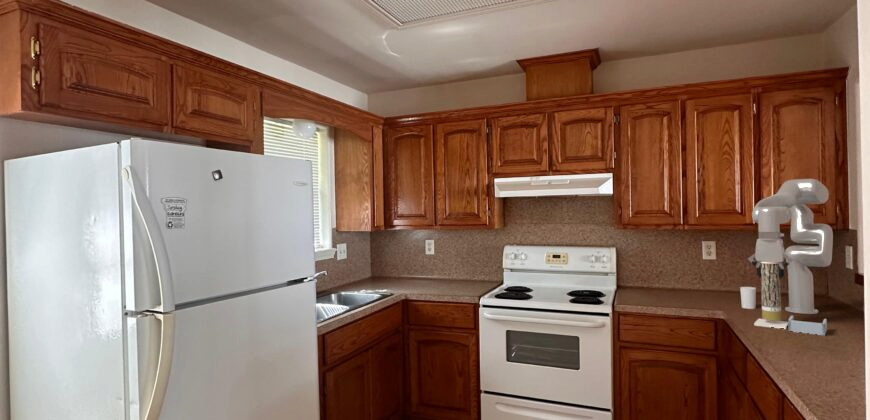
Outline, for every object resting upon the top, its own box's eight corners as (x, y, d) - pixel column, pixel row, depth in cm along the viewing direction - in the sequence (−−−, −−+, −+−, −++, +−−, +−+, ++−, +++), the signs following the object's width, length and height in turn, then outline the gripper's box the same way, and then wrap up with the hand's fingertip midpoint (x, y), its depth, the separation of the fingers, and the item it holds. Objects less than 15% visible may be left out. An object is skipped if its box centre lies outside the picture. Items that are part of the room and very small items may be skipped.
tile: (758, 320, 213) (758, 318, 213) (789, 324, 206) (789, 321, 206) (754, 325, 205) (754, 323, 205) (785, 329, 198) (785, 326, 198)
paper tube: (758, 318, 208) (756, 261, 208) (769, 317, 210) (767, 260, 210) (774, 322, 201) (772, 262, 201) (785, 320, 204) (783, 261, 204)
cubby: (791, 326, 203) (791, 315, 203) (826, 330, 195) (826, 319, 195) (788, 331, 195) (788, 320, 195) (825, 335, 187) (824, 324, 187)
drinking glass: (758, 309, 237) (758, 288, 237) (744, 308, 238) (743, 288, 238) (752, 306, 244) (752, 286, 244) (738, 306, 245) (737, 286, 245)
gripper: (795, 235, 203) (796, 277, 203) (747, 235, 215) (748, 275, 214) (793, 236, 197) (794, 280, 197) (743, 236, 209) (745, 277, 209)
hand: (770, 277), depth 206 cm, fingers closed on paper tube, 6 cm apart
